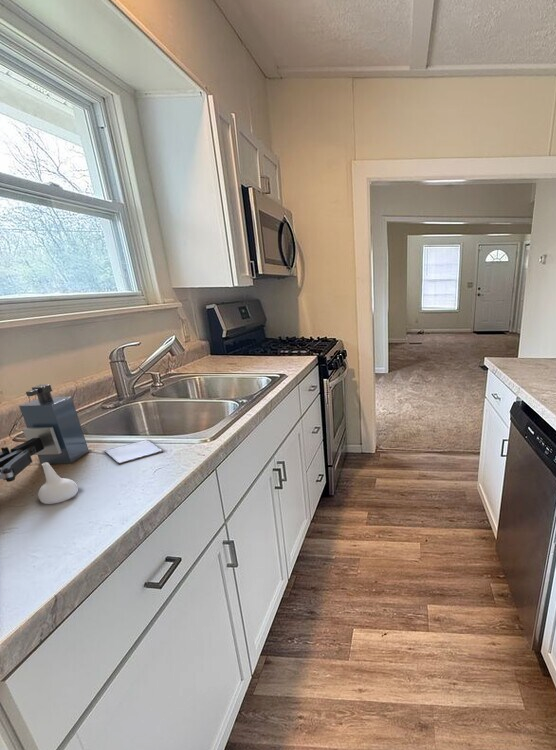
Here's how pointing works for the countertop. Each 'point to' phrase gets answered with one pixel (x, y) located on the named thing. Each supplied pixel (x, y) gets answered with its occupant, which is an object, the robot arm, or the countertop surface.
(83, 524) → the countertop surface
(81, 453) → the soap dispenser
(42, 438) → the dispenser paddle
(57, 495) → the garlic bulb
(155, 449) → the flat dark-edged slab
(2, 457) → the robot arm
